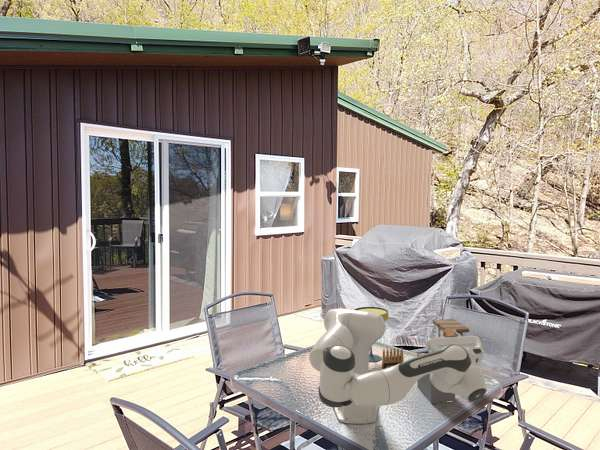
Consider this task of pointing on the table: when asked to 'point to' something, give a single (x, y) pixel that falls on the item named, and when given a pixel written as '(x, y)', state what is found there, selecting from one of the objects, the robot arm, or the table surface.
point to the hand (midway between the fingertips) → (447, 330)
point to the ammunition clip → (392, 358)
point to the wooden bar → (448, 333)
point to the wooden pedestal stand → (450, 326)
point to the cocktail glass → (385, 316)
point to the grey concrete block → (432, 390)
